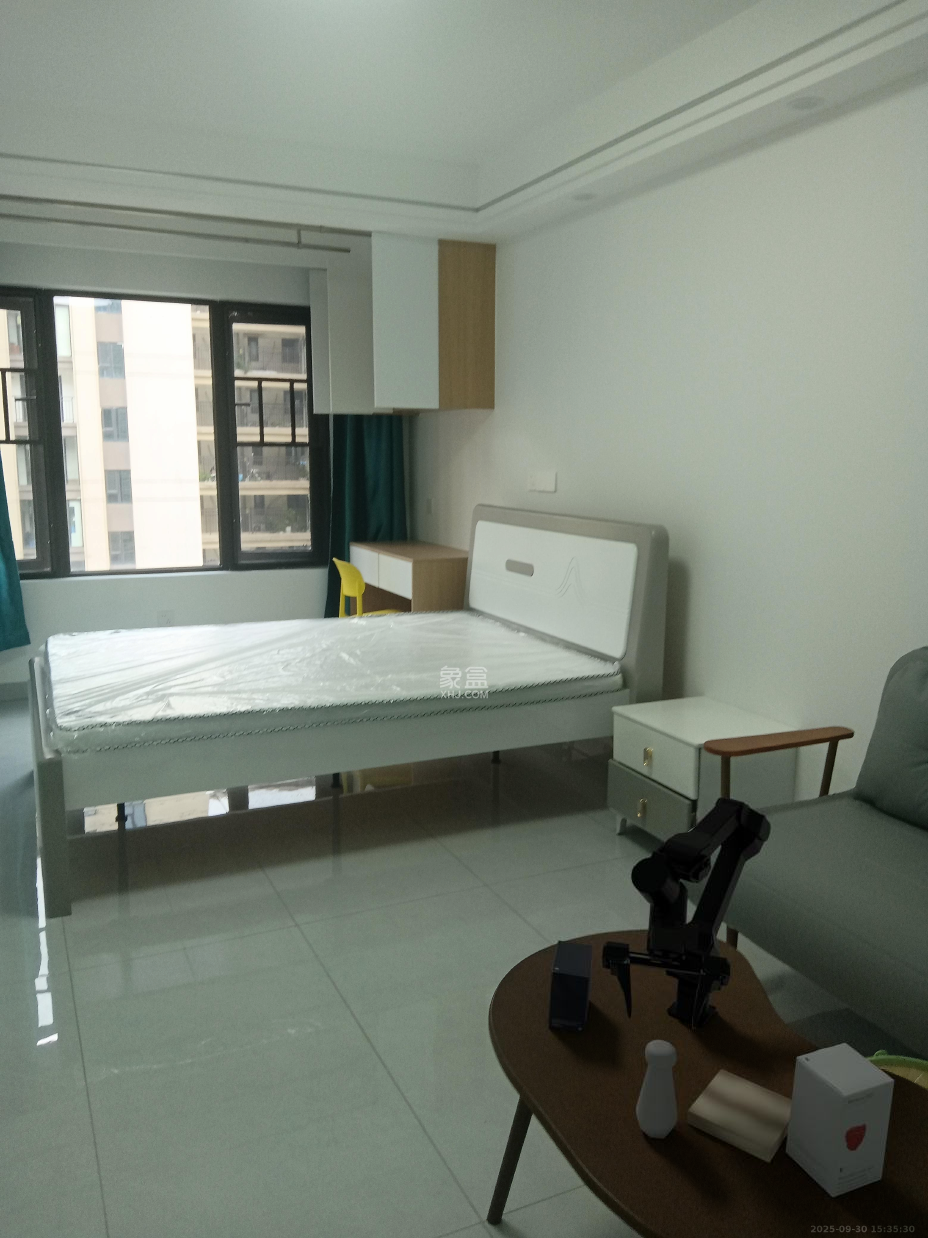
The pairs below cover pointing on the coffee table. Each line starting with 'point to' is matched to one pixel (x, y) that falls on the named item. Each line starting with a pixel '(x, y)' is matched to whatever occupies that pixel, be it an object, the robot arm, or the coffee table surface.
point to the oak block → (742, 1114)
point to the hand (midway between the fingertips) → (661, 1023)
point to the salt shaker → (658, 1091)
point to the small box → (570, 986)
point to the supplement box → (839, 1118)
